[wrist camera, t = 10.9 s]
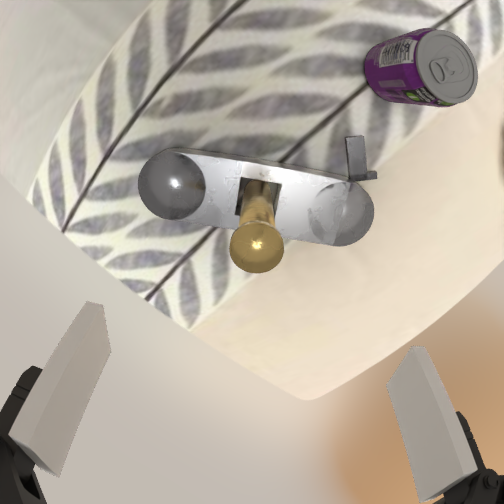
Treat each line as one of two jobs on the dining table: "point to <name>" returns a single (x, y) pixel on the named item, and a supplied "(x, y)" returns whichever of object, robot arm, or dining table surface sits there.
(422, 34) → the beverage can
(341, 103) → the dining table surface
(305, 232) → the slotted metal plate
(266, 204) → the pin
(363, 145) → the dark grey l-shaped bracket
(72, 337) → the robot arm
